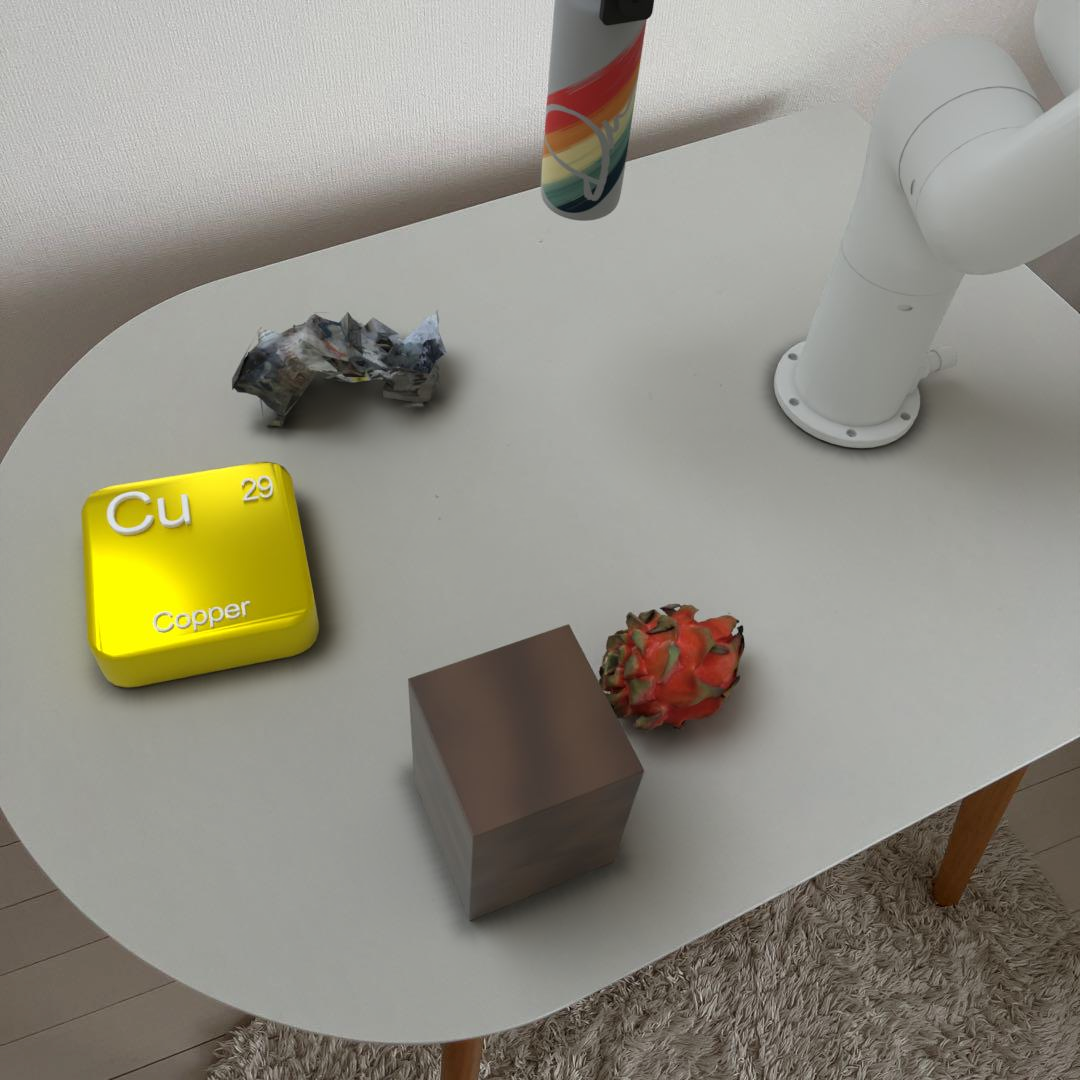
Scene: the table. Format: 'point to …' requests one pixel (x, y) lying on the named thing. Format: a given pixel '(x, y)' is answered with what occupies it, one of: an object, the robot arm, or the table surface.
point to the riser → (521, 768)
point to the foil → (340, 360)
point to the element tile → (196, 574)
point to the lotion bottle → (588, 109)
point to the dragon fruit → (671, 666)
